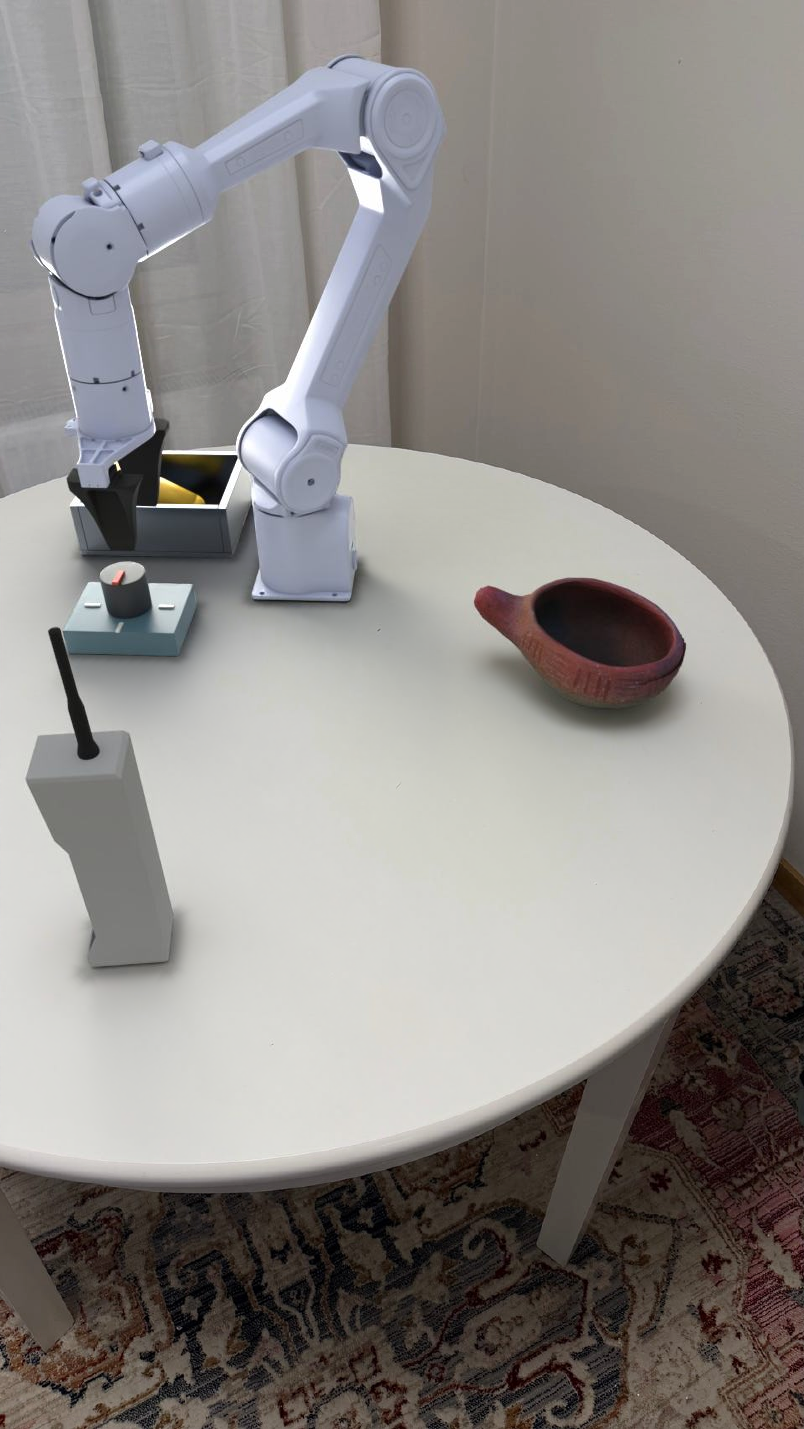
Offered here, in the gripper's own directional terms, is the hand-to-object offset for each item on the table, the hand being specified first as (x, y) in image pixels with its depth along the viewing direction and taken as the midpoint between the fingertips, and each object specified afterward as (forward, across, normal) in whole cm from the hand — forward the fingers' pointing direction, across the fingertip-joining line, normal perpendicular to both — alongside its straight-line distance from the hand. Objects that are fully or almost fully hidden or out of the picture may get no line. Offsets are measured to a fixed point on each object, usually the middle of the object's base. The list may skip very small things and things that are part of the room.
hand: (134, 526), depth 87 cm
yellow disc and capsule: (+7, -19, -5) cm, 21 cm away
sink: (+10, -18, -3) cm, 21 cm away
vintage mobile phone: (+11, +36, +7) cm, 38 cm away
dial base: (+10, +1, -2) cm, 10 cm away
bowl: (+10, +8, +38) cm, 40 cm away
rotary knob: (+8, +1, -2) cm, 8 cm away
